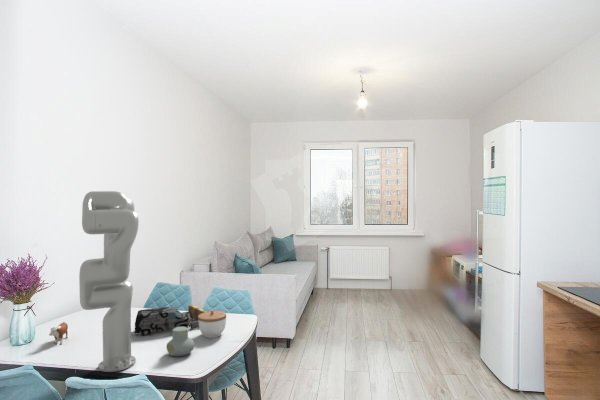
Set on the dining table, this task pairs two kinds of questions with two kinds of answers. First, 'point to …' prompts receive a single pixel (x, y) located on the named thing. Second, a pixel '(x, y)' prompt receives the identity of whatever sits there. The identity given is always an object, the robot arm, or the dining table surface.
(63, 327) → the bull figurine
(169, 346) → the air freshener
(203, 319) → the lidded bowl
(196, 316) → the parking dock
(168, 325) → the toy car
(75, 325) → the dining table surface
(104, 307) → the robot arm
